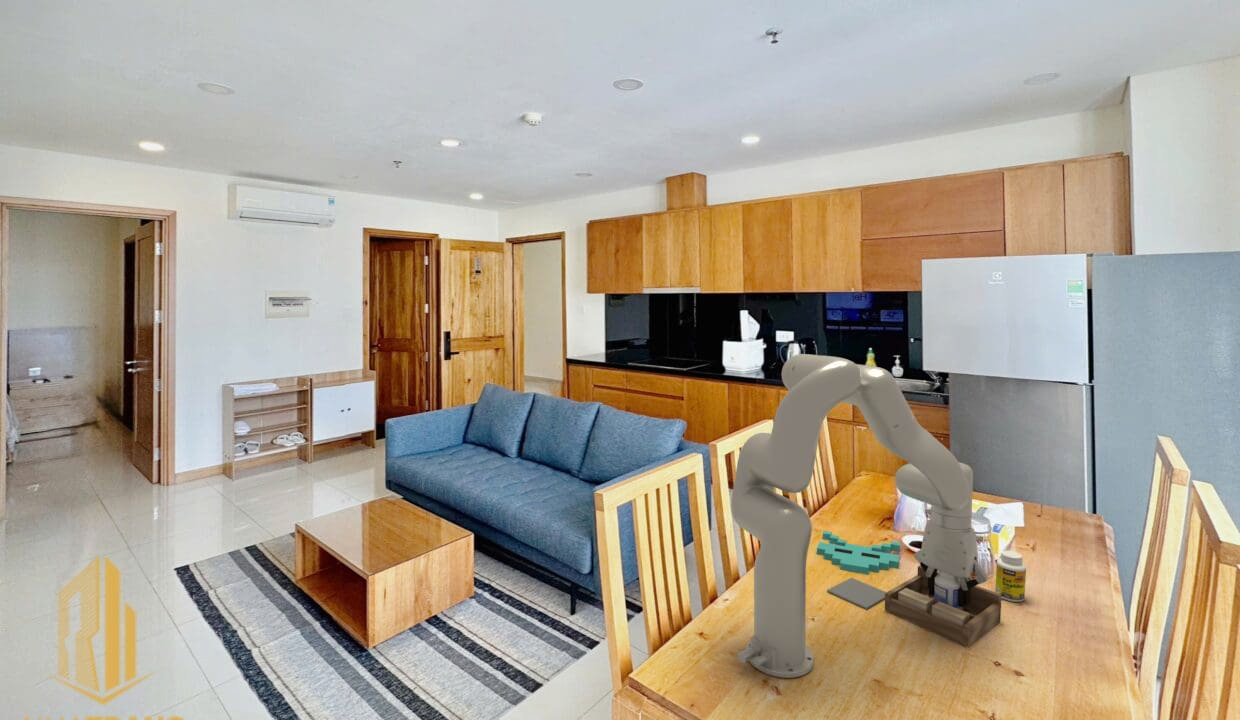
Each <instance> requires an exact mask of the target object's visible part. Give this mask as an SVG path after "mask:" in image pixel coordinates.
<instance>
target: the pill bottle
mask: <svg viewBox="0 0 1240 720" xmlns="http://www.w3.org/2000/svg"><path fill="white" fill-rule="evenodd" d="M937 572H938V573H939V575H937V576H936V577H935V586H934V598H933V599H936V600H938V601H941V602H943V603H946V604H948V605H951V606H953V607H956V608H958V609H961V610H963V611H964V609H963V607H959V606H958V595H959V589H960V588H961V584H960V580H959V577H956V576H953V575H951V574H948V573H945V572H942V571H939V570H938V571H937Z"/></svg>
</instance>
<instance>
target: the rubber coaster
mask: <svg viewBox="0 0 1240 720" xmlns="http://www.w3.org/2000/svg"><path fill="white" fill-rule="evenodd" d="M826 592H827V593H828V594H831V595H833V596H835V597H837V598H839V599H842V600H845V601H846V602H847V603H850V604H853V605H854V606H857V607H860V608H861V609H864V610H866V611H868V610H869V609H871V608H872V607H874V606H876V605H877V604H879V603H881V602H884V601H885V593H886V592H887V591H884V590H882V589H880V588H877V587H875V586H874V585H871V584H868V583H866V582H863V581H861V580H858V579H856V578H854V577H850V578H848V579H846V580H843V581H842V582H840V583H838V584H836V585H835V586H832V587H830V588H828V589H827V590H826Z"/></svg>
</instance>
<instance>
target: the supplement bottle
mask: <svg viewBox="0 0 1240 720" xmlns="http://www.w3.org/2000/svg"><path fill="white" fill-rule="evenodd" d="M1026 578H1027V566H1026V564H1025V563H1023V555H1022V554H1020V553H1019V552H1017V551H1012V550H1002V551H1001V553H1000V558H998V559H997V560H996V570H995V588H994V590H995V591H994V592H995V593H998V594H1001V600H1005V601H1009V602H1011V603H1020V602H1023V601H1024V600H1025V597H1026V596H1025V594H1026Z"/></svg>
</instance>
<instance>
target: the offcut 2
mask: <svg viewBox="0 0 1240 720" xmlns="http://www.w3.org/2000/svg"><path fill="white" fill-rule="evenodd" d="M964 611H965V610H963V611H962V610H959V609H957V608H954V607H952V606H949V605H947V604H944V603H942V602H938V603H936V604H934V605H933V606H932V615H933V616H936V617H938V618H941V619H943V620H945V621H948V622H950V623H952V624H955V625H957V626H960V627H962V628H963V625H965V624H966V623H967V622H969V619H970V614H969V613H970V612H968V611H966V612H964ZM967 612H968V613H967Z"/></svg>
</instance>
